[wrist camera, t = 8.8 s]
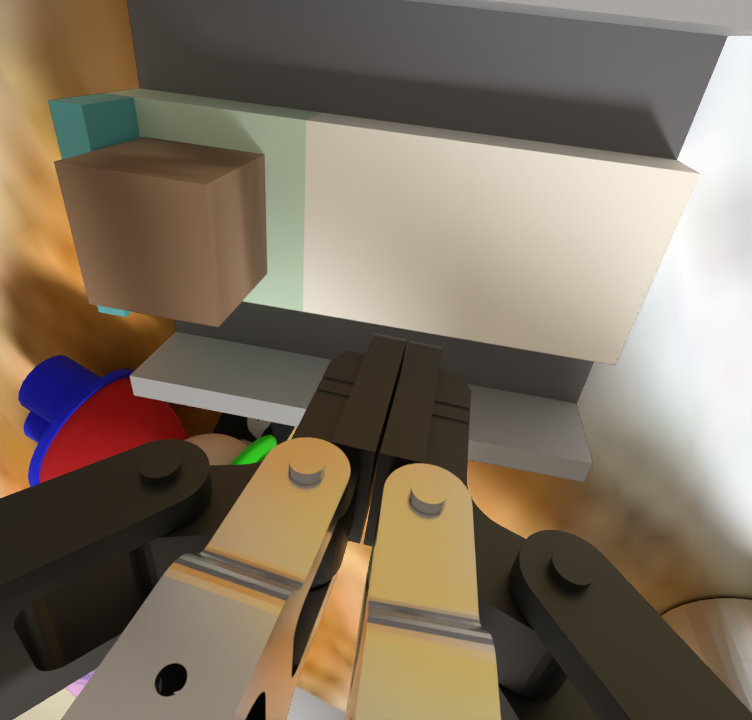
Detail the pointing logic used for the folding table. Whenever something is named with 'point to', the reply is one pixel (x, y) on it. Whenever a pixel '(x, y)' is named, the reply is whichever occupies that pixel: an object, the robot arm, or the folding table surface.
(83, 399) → the toy figure
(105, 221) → the walnut block
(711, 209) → the folding table surface
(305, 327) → the trap track
